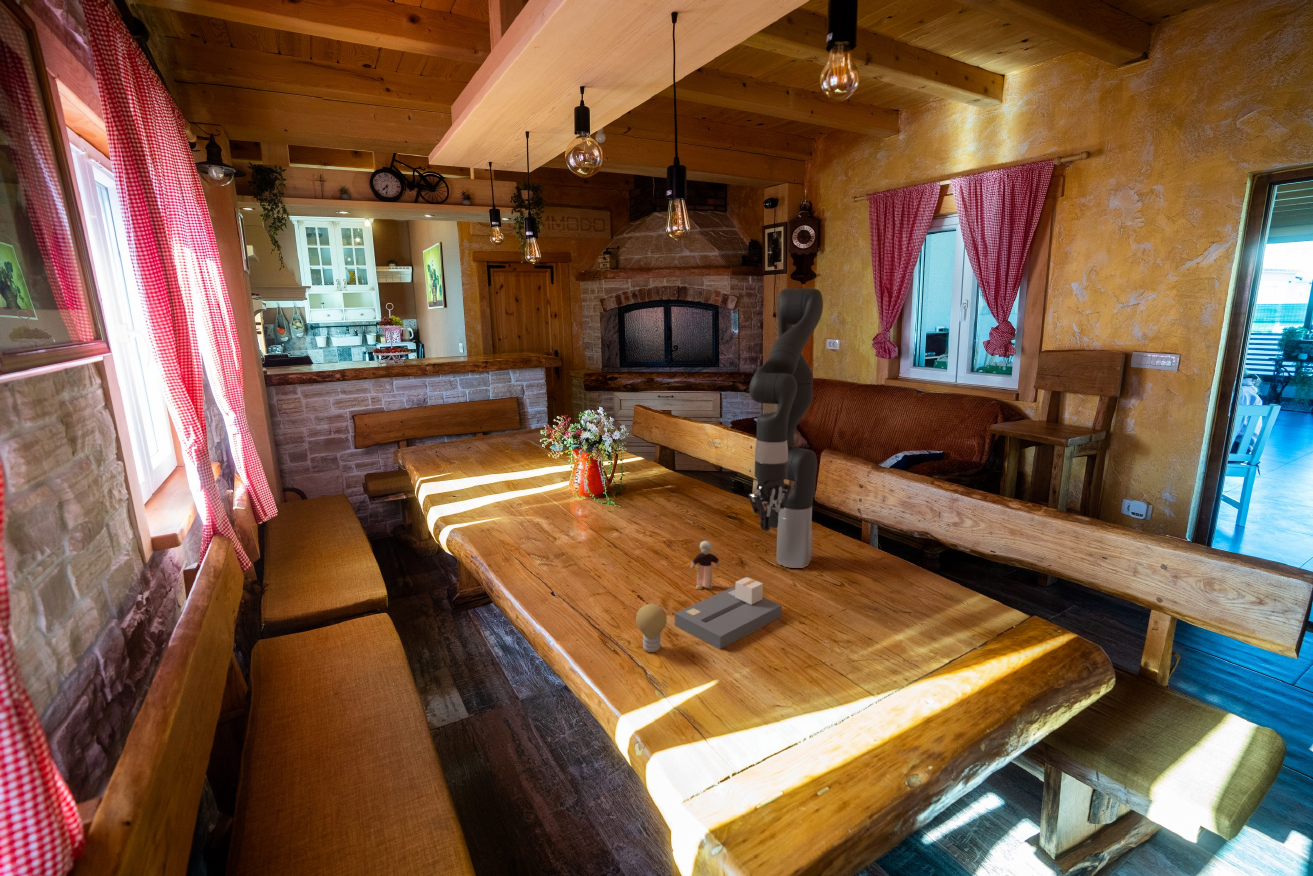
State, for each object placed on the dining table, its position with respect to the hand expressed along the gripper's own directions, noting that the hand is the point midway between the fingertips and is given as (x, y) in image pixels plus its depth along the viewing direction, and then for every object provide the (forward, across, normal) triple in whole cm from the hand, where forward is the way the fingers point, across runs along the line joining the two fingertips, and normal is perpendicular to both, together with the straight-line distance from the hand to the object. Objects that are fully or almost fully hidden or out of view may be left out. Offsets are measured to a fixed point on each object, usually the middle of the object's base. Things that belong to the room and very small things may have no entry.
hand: (769, 528), depth 150 cm
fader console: (+19, +14, 0) cm, 24 cm away
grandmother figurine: (+19, +5, -16) cm, 26 cm away
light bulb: (+19, +35, -3) cm, 40 cm away
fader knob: (+16, +7, 0) cm, 17 cm away
